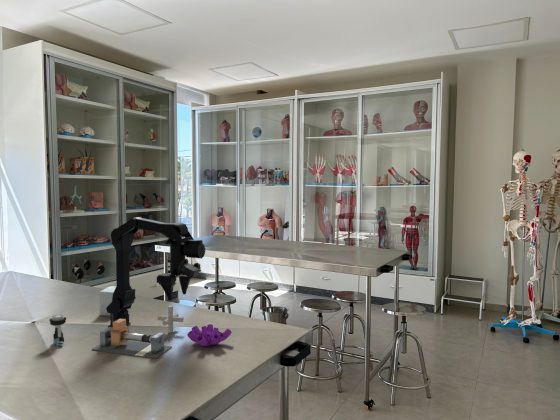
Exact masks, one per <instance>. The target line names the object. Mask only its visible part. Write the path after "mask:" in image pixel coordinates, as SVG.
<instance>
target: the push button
mask: <svg viewBox="0 0 560 420" xmlns="http://www.w3.org/2000/svg"><path fill="white" fill-rule="evenodd" d="M48 321H49V323H50V325H51V326H53V327H54V333H53V335H52V336H53V337H52V338H53V339H52V341H53V343H52V344H53V346H55V345H56V346H57V347H60V346H61V347H62V346H64V342H65V337H64V333H63V331H62V326H63V325H64V324H66V321H67V317H65V316H64V315H63V314H55V315H53V316H52V317H51V318H50V319H49V320H48Z"/></svg>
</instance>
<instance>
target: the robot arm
mask: <svg viewBox="0 0 560 420" xmlns="http://www.w3.org/2000/svg"><path fill="white" fill-rule="evenodd" d="M140 230H145V231H150V232H153V233H159V234H161V235H163V236H164V237H166V238H167V240H166V241H165V242H164V245H169V259H167V263H169V269H168V270H167V273H161V274H158V275H157V276H156V278H155V279H156V282H155V283H156V284H158V285H160V287H161V288H162V289H163V291H164V293H165V296H166V297H167V299H168V301H172V300H173V296H174V295H173V293H174V287H175V285H177V282H176V281H177V278H179V286H180V290H181V292H182V295H185V296H186V294H187V291H188V288H189V285H190V282H191V280H193V279H194V278H197V277H198V275H199V273H200V272H202V270H201V263H199V262H195V263H189V259H188V258H191V259H203V258H204V257H205V255H206V247H205V244H204V243H203V239H197V240H196V239H194V237H193V236H192V234H191V231H189V228H188V226H187V224H186V223H184V222H162V221H158V220H155V219H154V220H152V219H147V218H145V217H143V218H142V216H138V217H137V216H136V217H131V218H130V219H129V220H127V221H126V222H125V223H122V224H121V225H120V226H118V227H116V228H113V229H112V230H111V232H110V240H111V245H112V246H113V248H114V249H115V263H116V264H115V268H116V271H115V272H116V273H115V279H116V282H115V286H116V288H115V290H114V292H113V296H112V302H111V303H110V304H109V305H108V306H107V307H106V310H107V313H110V315H109V317H110V319H109V320H110V321H109V323H110V324H109V325H107V328H108V327H113V322H114V321H116V320H118V319H126V326H128V327H129V326H130V325H131V324H132V322H130V313H129V309H132V305H133V304H134V303H135V300H136V298H137V297H136V288H133V287H132V286H131V282H130V280H131V279H130V277H131V276H130V250H131V249H130V248H131V247H132V245H133V241H134V236H135V234H137V233H138V232H139V231H140Z"/></svg>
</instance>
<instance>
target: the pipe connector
mask: <svg viewBox="0 0 560 420" xmlns="http://www.w3.org/2000/svg"><path fill="white" fill-rule="evenodd" d="M167 307H168V309H167V311H168V312H167V315H157V321H162V325H163V326H167V325H168V327H167V329H168V330H167V331H168V333H173V332H174V322H175V323H176V322H177V323H183V322H184V320H185V318H184V317H183V316H179V313H178V312H175V313H174V306H173V305H168V306H167Z"/></svg>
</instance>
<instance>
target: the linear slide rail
mask: <svg viewBox="0 0 560 420" xmlns="http://www.w3.org/2000/svg"><path fill="white" fill-rule="evenodd" d="M112 329H113V327H108V326H107V328H105V329H101V330H100V332H99V342H100V343H99V345H100V347H107V346H109V345H110V344H111V330H112ZM120 339H123V340H128V341H132V342H141V343H149V344H151V353H152V354H157V353H159V352H160V351H162V350H163V349H164V345H165V332H158V333H156V334H155V335H152V334H142V333H133V332H128V333H126V332H121V333H120Z"/></svg>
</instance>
